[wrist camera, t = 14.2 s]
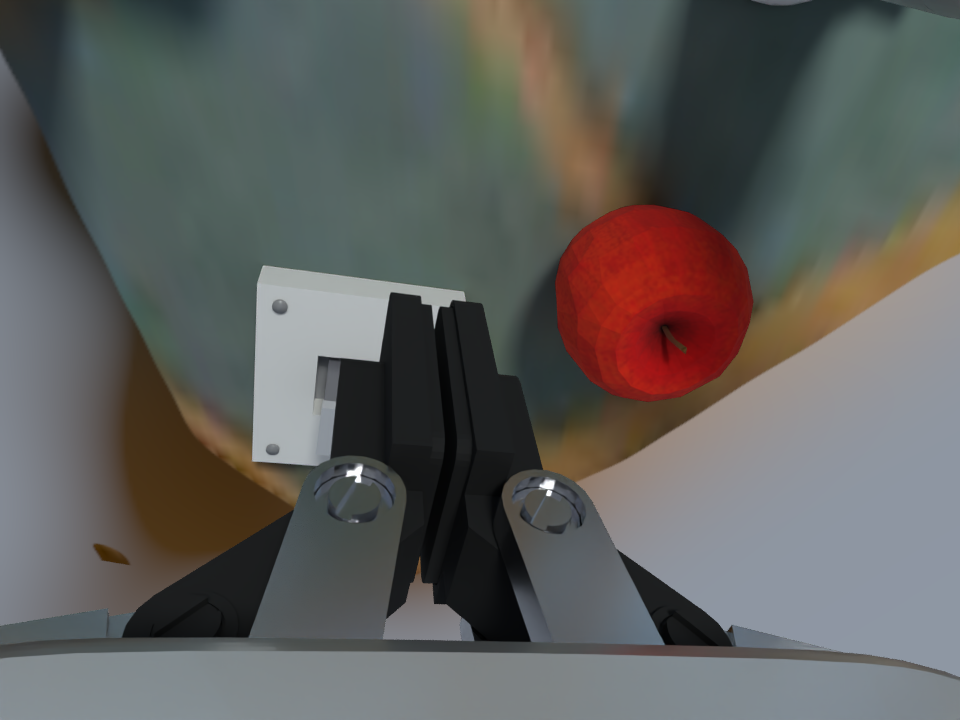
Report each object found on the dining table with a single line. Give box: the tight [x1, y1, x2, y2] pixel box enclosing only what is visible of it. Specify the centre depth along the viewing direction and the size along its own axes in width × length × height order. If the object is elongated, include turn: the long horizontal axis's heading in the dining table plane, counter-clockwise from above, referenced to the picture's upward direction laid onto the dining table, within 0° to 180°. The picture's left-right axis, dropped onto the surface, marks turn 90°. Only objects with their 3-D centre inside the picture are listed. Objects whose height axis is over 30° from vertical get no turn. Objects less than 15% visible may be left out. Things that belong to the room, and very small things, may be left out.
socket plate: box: [252, 265, 466, 466], centre depth 50 cm, size 14×16×3 cm
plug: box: [316, 357, 341, 456], centre depth 48 cm, size 4×4×7 cm
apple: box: [555, 205, 753, 402], centre depth 43 cm, size 12×12×13 cm
